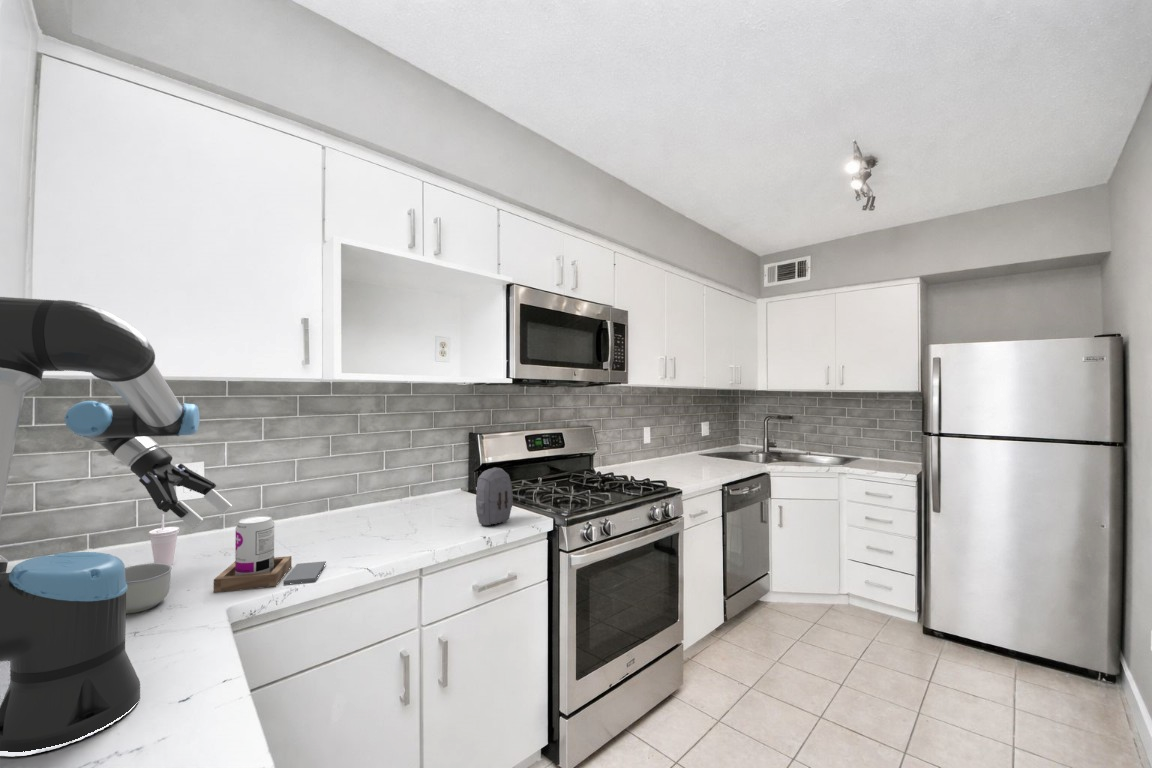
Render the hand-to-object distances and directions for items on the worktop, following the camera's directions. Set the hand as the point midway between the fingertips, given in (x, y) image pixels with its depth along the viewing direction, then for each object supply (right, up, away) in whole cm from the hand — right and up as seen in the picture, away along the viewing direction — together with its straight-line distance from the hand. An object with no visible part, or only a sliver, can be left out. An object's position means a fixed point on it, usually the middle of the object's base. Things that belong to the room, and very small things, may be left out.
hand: (213, 516), depth 122 cm
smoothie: (-21, -16, +10) cm, 29 cm away
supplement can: (+9, -16, +1) cm, 19 cm away
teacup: (-7, -16, -16) cm, 24 cm away
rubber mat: (+21, -16, +4) cm, 26 cm away
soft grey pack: (+62, -17, +51) cm, 82 cm away
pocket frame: (+9, -16, +1) cm, 19 cm away
